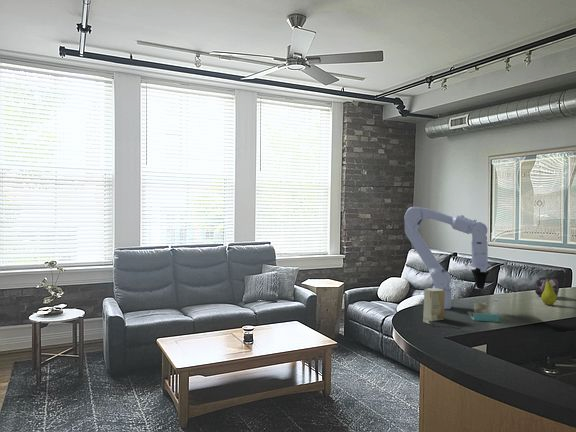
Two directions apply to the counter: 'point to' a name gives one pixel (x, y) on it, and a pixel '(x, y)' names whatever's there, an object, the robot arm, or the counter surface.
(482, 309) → the maple block
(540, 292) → the mineral specimen
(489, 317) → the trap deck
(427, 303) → the skincare box
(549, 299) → the fruit
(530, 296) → the counter surface
